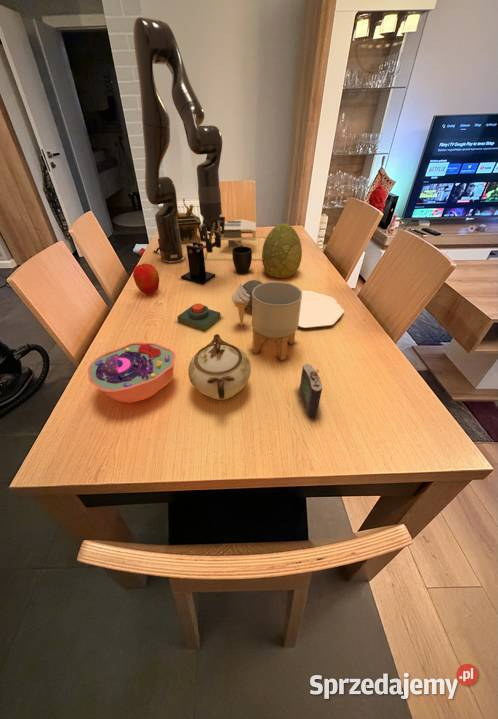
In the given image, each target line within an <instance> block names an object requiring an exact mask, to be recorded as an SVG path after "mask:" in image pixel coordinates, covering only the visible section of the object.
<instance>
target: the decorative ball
mask: <svg viewBox="0 0 498 719" xmlns="http://www.w3.org/2000/svg"><path fill="white" fill-rule="evenodd" d="M262 283H263V282H262V281H260V280H257V279H252V280H251V279H250V280H247V281H246V282H245V283H244V284H242V286H243V288H244V289H245V290H246V291H247V292H246V293H247V294H249V295H250V297H249V299H250V300H249V302H248V305H247V306H246V307H245V309H246V308H247V309H249V310H252V291H253V289H254V288H255V287H256V286H258V285H259V284H262Z"/></svg>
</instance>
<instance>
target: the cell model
mask: <svg viewBox="0 0 498 719" xmlns="http://www.w3.org/2000/svg"><path fill="white" fill-rule="evenodd" d="M175 360H176V352H174V350H172V349H170V348H167V347H166V346H164V345H160V344H158V343H155V342H144V341H143V342H141V341H140V342H139V341H137V342H131V343H127V344H126V345H124V346H123V345H122V346H121V347H119V348H116V349H113V350H110V351H107V352H105V353H103V354H101V355H100V356H98V357H96V358H95V359H94V360H93V361H92V362H91V363H90V365H89V366H88V368H87V378H88V381H89V383H90V384H92V385H94V386H95V387H96V388H97V389H98V390H100V391H101V392H102V393H103V394H105V395H106V396H108V397H110V398H111V399H112V400H114V401H117V402H123V403H128V404H129V403H130V404H131V403H136V402H140V401H143V400H146V399H147V400H148V399H149V398H151V397H153V396H154V395H155V394H156V393H158V392H160V391H161V390H162V389H163V388H164V387H166V386H167V385H168V384H169V383H170V382H171V381H172V380H173V377H174V369H175Z"/></svg>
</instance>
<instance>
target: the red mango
mask: <svg viewBox="0 0 498 719" xmlns="http://www.w3.org/2000/svg"><path fill="white" fill-rule="evenodd" d="M132 277H133V280H134V283H135V285H136V287H137V288H138V290H139V292H140V293H142V294H144V295H146V296H152V295H153V294H155V293H156V292H157V291H158V290H159V288H160V274H159V272H158V270H157V268H156V267H155V266H154V265H153V264H150V263H144V262H142V263H141V264H138V265H135V267H134V269H133V271H132Z"/></svg>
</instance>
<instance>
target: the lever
mask: <svg viewBox="0 0 498 719" xmlns="http://www.w3.org/2000/svg"><path fill="white" fill-rule="evenodd" d="M218 244H219V241H215V242H213V243H212V248H213V247H215V246H217V245H218ZM195 247H197V252H199V251H200V249H203V250H204V249H206V244H203V246H198V245H195Z"/></svg>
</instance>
